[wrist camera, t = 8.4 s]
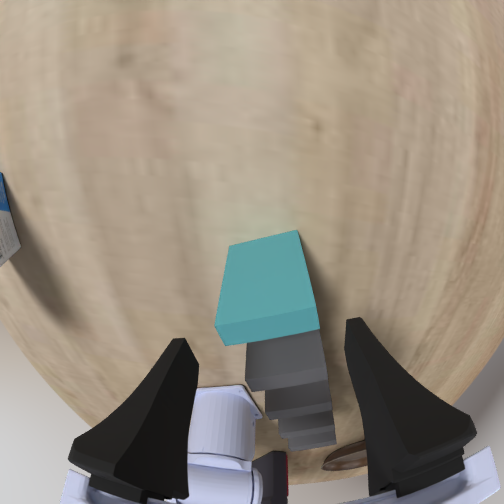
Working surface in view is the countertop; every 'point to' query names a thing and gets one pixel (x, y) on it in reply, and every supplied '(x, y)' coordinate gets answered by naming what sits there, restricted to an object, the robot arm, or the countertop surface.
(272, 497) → the toy cabinet
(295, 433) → the black domino
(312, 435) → the black domino
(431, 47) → the countertop surface
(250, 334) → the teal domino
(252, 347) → the black domino
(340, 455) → the plant saucer
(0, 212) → the ink box
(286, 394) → the domino block
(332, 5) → the countertop surface
